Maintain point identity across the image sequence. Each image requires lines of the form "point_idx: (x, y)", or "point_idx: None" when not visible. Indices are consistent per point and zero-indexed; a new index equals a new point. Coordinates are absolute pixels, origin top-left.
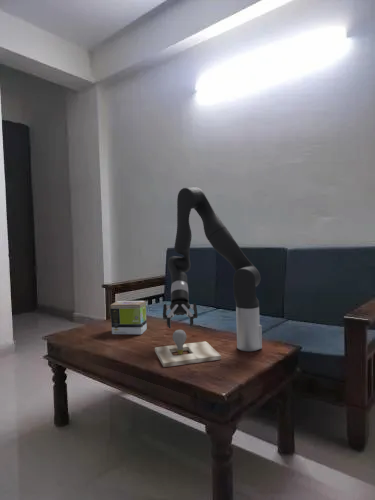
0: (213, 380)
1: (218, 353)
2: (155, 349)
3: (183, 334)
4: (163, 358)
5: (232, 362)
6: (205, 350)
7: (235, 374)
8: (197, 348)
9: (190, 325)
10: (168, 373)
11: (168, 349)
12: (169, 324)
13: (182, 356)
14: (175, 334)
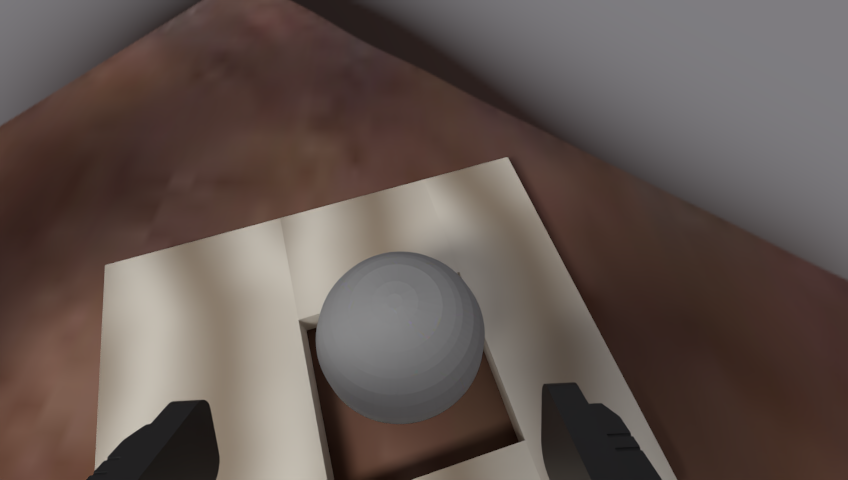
0: (251, 51)
1: (104, 304)
2: (667, 469)
3: (346, 272)
4: (525, 226)
5: (72, 229)
6: (184, 381)
7: (131, 97)
8: (244, 441)
9: (200, 401)
10: (462, 108)
11: (526, 428)
12: (568, 393)
13: None
14: (442, 263)
